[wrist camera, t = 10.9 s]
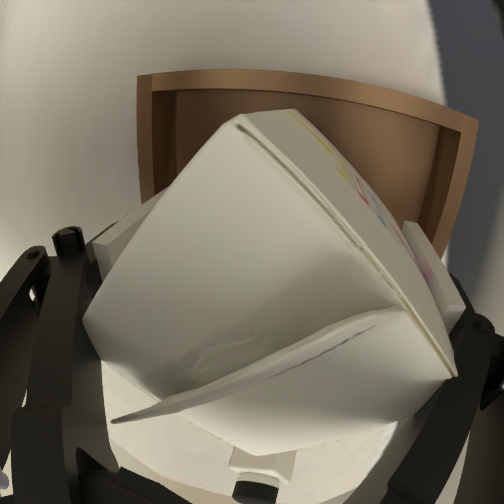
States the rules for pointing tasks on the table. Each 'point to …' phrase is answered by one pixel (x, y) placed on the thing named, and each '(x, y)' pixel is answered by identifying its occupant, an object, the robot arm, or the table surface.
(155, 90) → the walnut tray
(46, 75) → the table surface
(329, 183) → the ink box
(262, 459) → the medicine bottle
